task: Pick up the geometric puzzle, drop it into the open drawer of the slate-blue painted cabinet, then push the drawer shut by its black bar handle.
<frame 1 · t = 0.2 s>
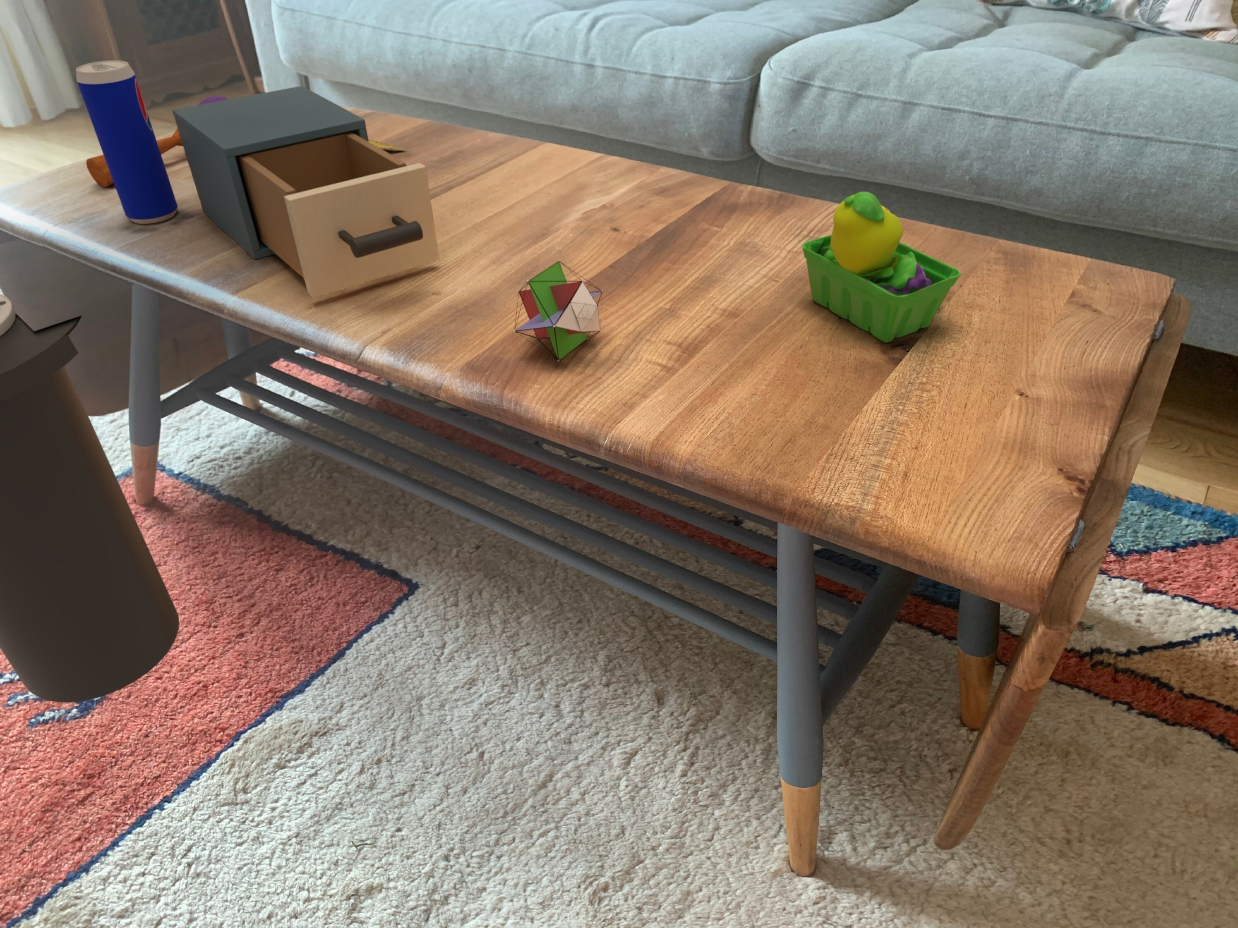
beverage can: (154, 217, 95), on the table
cabinet: (292, 218, 94), on the table
kendama: (178, 164, 109), on the table
geometric puzzle: (561, 348, 72), on the table
origami crane: (334, 156, 110), on the table
drawer: (345, 214, 81), point 5 cm above the table, slide at 12.0 cm
fruit basket: (863, 317, 76), on the table
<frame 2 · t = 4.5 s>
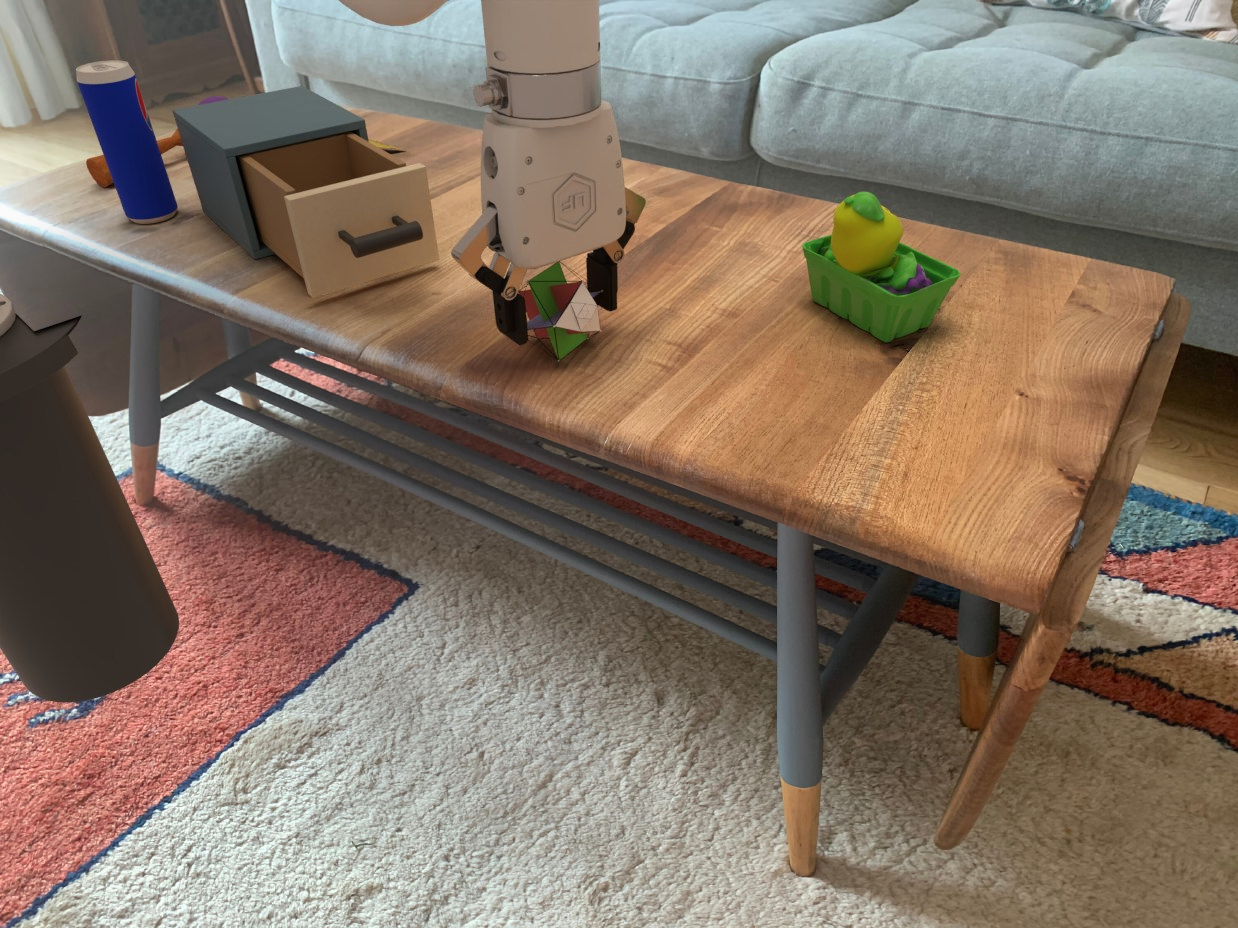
hand: (559, 320, 71), 2 cm above the table, tool pointing down, fingers closed on geometric puzzle, 8 cm apart
geometric puzzle: (561, 348, 72), on the table, touching gripper
everything else where it was.
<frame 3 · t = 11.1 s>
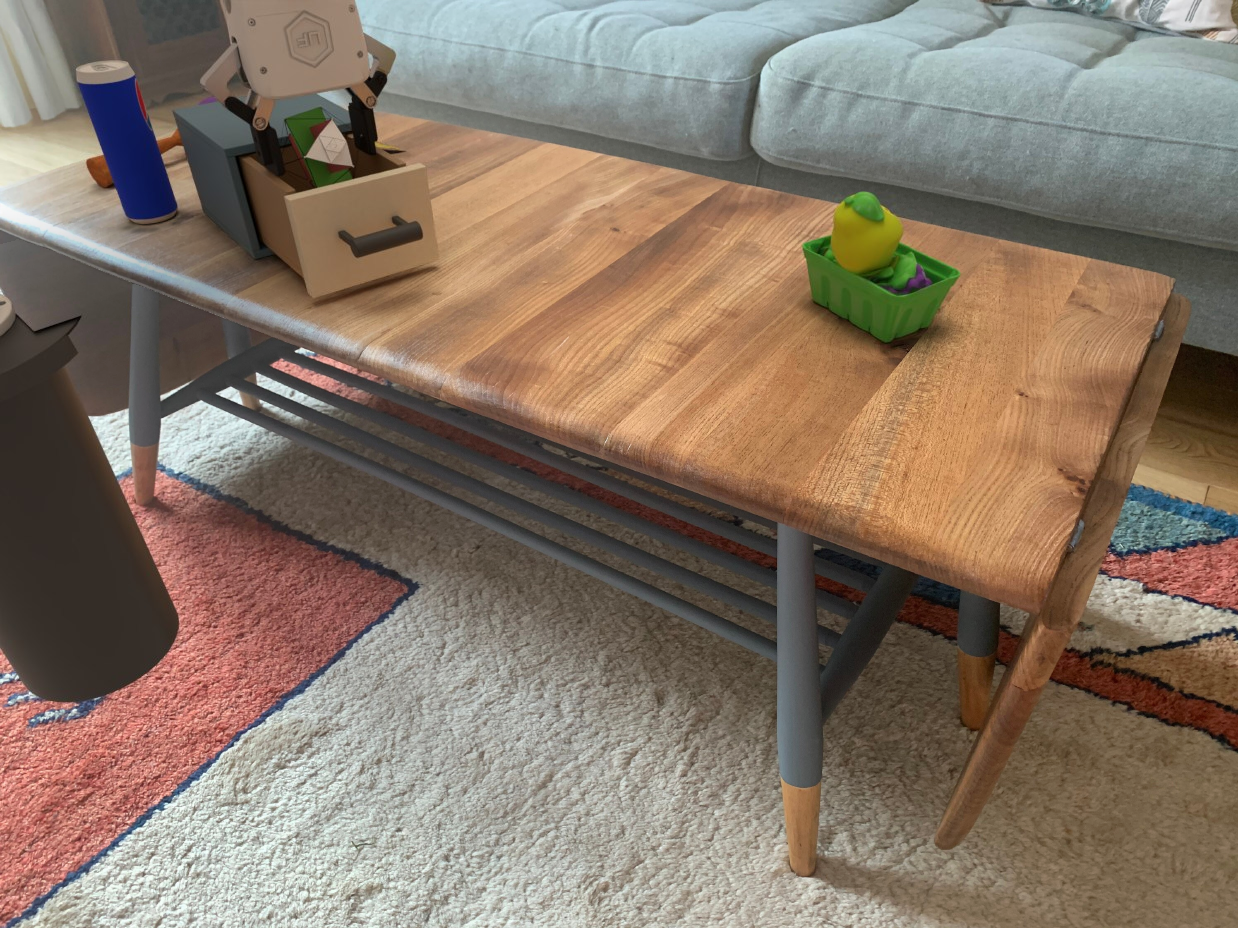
hand: (322, 160, 80), 10 cm above the table, tool pointing down, fingers closed on geometric puzzle, 8 cm apart
geometric puzzle: (327, 188, 81), point 7 cm above the table, touching gripper
everything else where it was.
when the fingers open (12 cm above the table, at t = 31.4 s): geometric puzzle drops 8 cm, resting on drawer.
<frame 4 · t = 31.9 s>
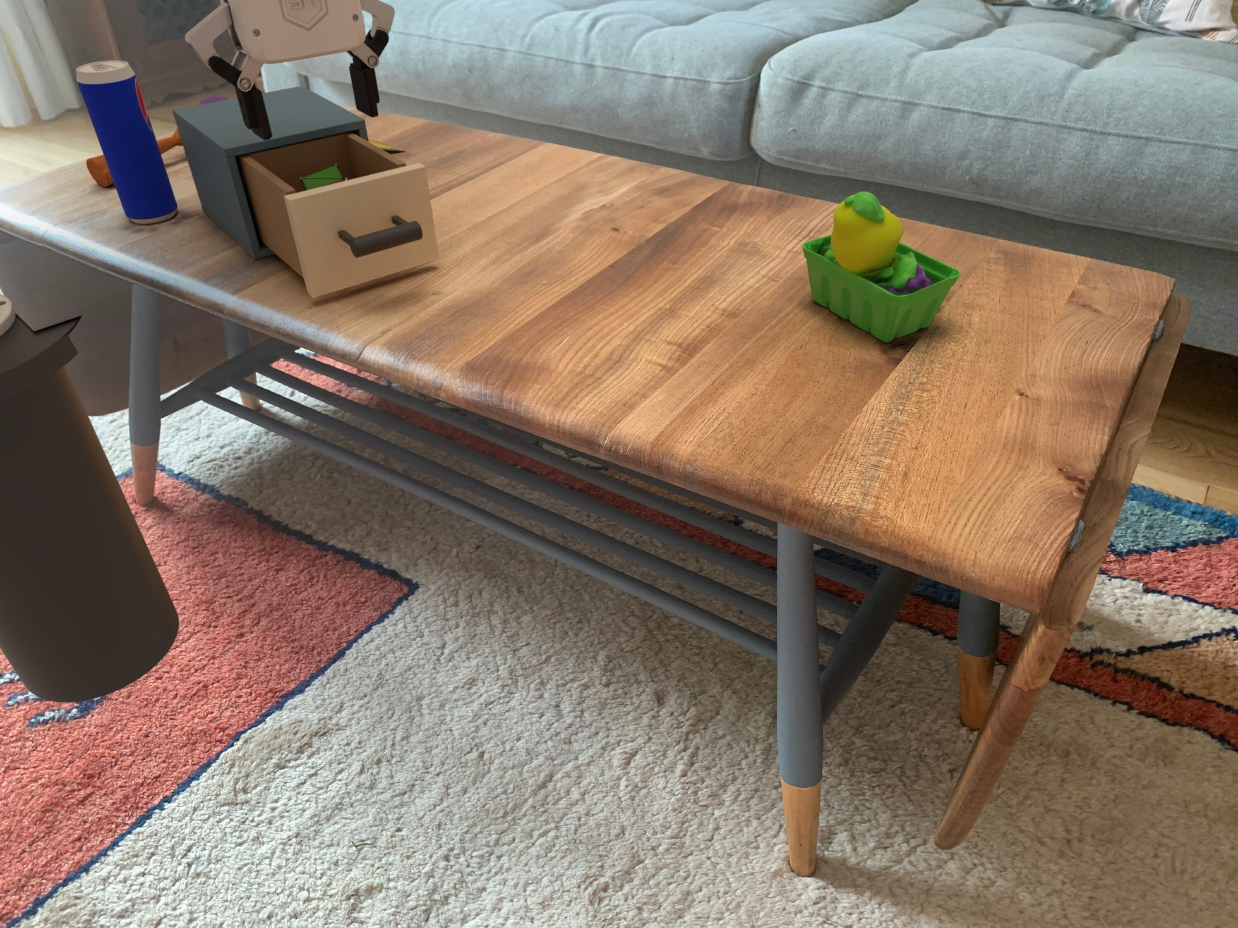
hand: (316, 124, 78), 13 cm above the table, tool pointing down, fingers open, 9 cm apart
geometric puzzle: (342, 241, 85), point 2 cm above the table, touching drawer
drawer: (345, 214, 81), point 5 cm above the table, slide at 11.9 cm, touching geometric puzzle
everything else where it was.
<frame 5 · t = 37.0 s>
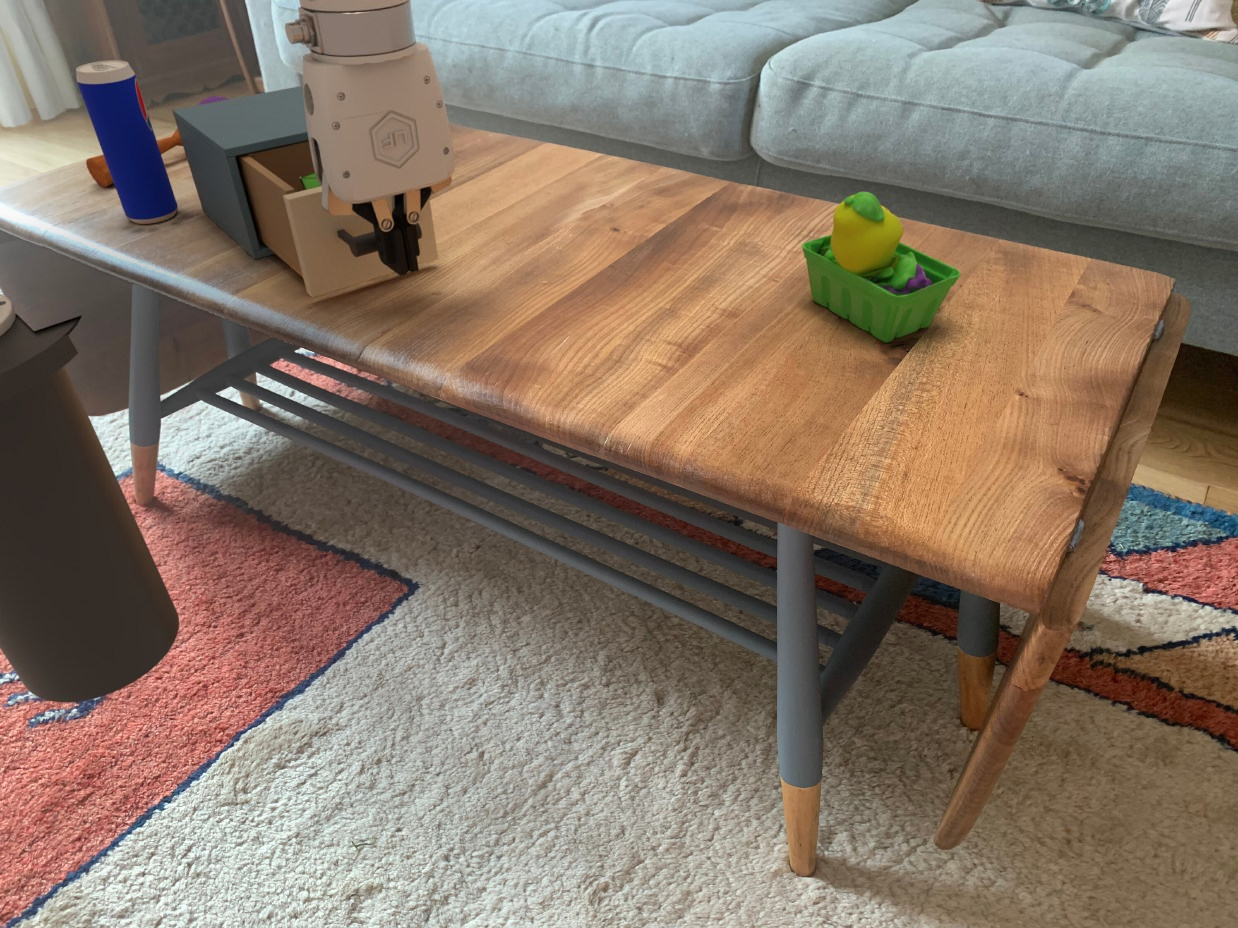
hand: (401, 267, 75), 4 cm above the table, tool pointing down, fingers closed
drawer: (344, 214, 81), point 5 cm above the table, slide at 11.8 cm, touching geometric puzzle, gripper
everything else where it was.
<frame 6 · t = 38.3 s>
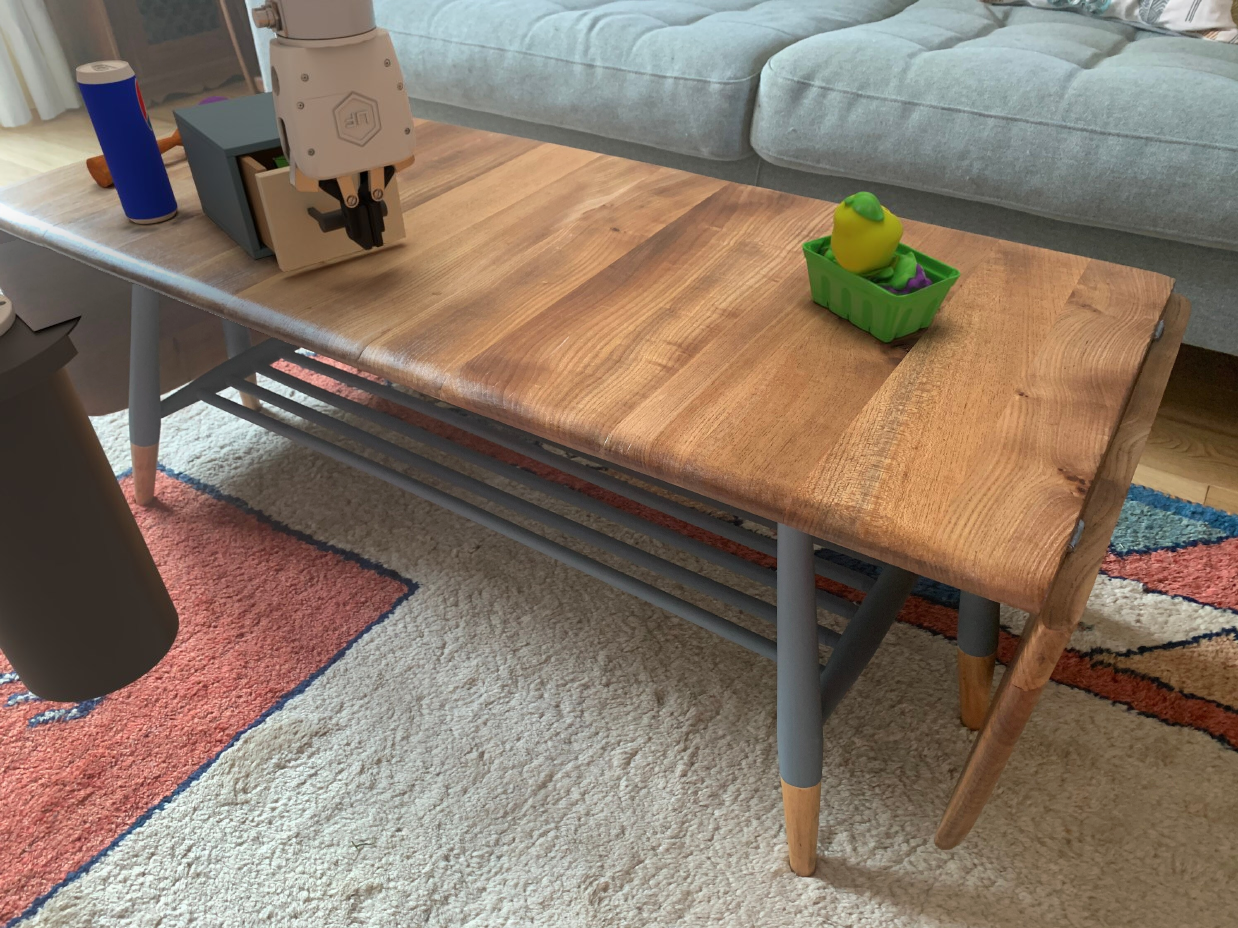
hand: (368, 243, 79), 4 cm above the table, tool pointing down, fingers closed
geometric puzzle: (314, 220, 89), point 2 cm above the table, touching drawer
drawer: (315, 193, 85), point 5 cm above the table, slide at 5.3 cm, touching geometric puzzle, gripper
everything else where it was.
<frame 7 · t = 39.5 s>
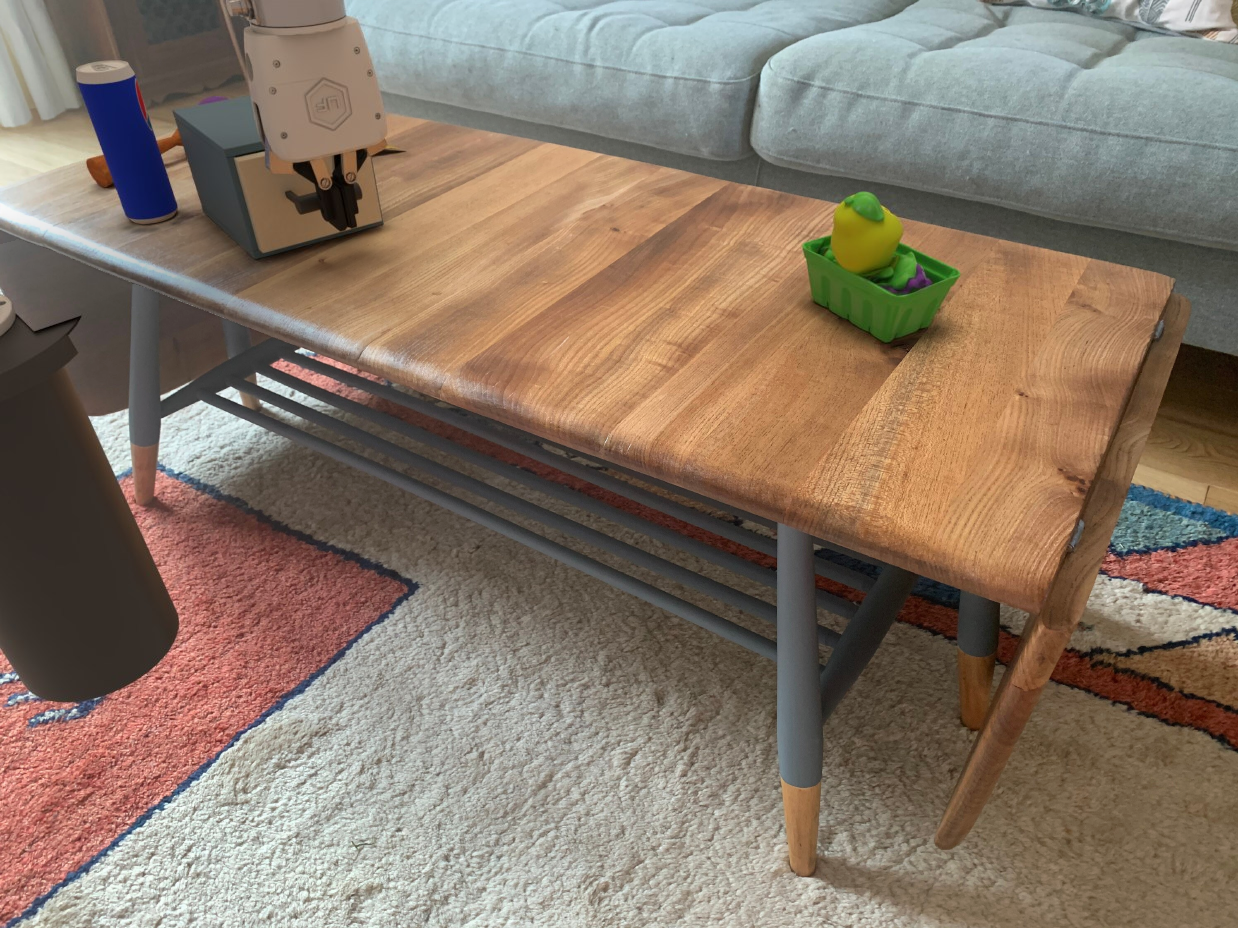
hand: (342, 224, 82), 4 cm above the table, tool pointing down, fingers closed
geometric puzzle: (294, 205, 92), point 2 cm above the table, touching drawer
drawer: (294, 178, 89), point 5 cm above the table, slide at 0.0 cm, touching cabinet, geometric puzzle, gripper
everything else where it was.
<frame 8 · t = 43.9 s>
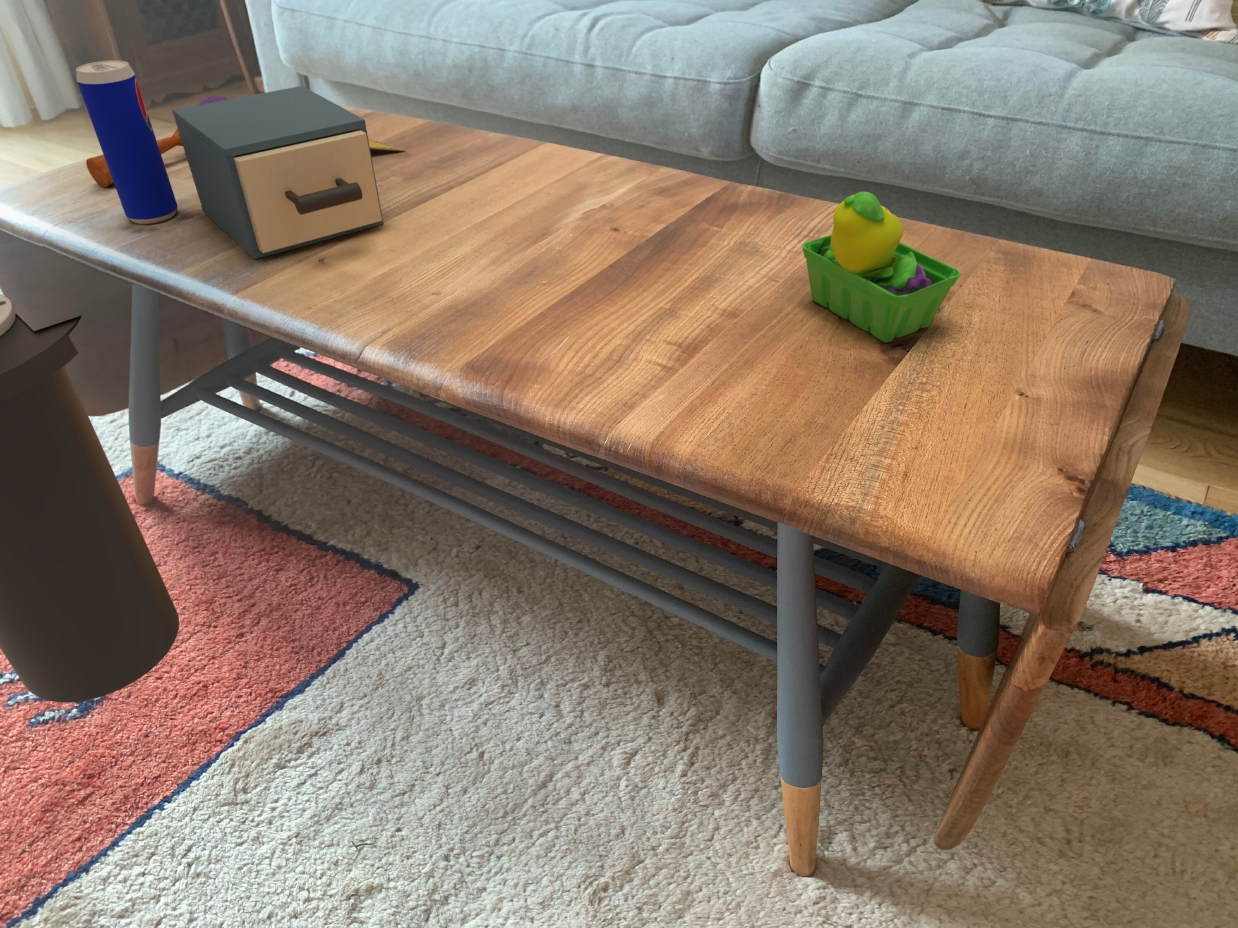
drawer: (294, 178, 89), point 5 cm above the table, slide at 0.0 cm, touching geometric puzzle
everything else where it was.
at the end: geometric puzzle inside the target area in the cabinet (1.4 cm from its centre), point 1.8 cm above the cabinet's base; drawer slide at 0.0 cm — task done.
